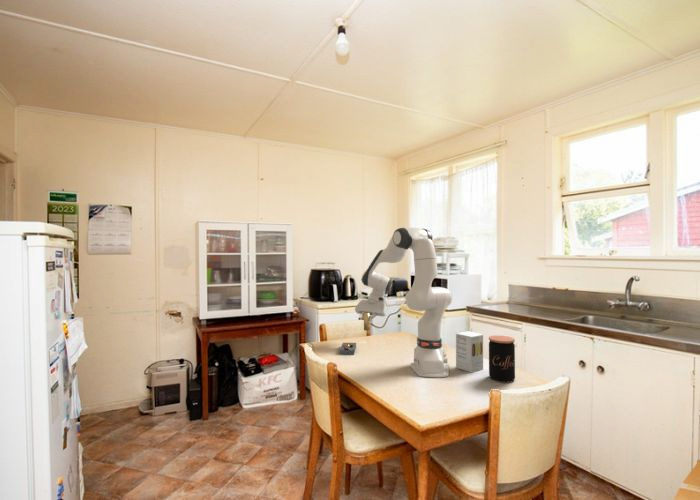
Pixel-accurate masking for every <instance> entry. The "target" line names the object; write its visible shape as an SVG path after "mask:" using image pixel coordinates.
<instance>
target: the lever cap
mask: <svg viewBox="0 0 700 500" xmlns="http://www.w3.org/2000/svg"><path fill="white" fill-rule="evenodd" d="M369 317H371V315H370V313H369V312H364V320H363V331H365V332H366V331H368V332H369V331H371V321H369V320H368V319H369Z"/></svg>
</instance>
